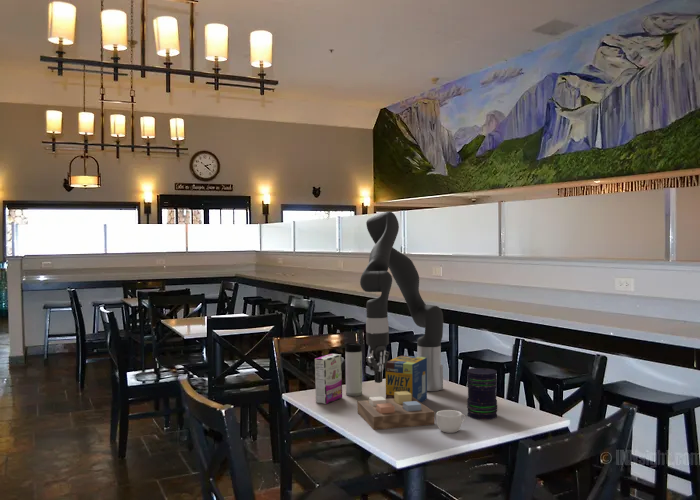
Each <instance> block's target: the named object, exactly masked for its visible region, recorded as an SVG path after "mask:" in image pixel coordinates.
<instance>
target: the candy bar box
mask: <svg viewBox="0 0 700 500" xmlns="http://www.w3.org/2000/svg"><path fill="white" fill-rule="evenodd" d="M342 373H343V372H342V354H338V353H329V354H326V355H322V356H319V357H316V358H314V378H315V379H314V382H315V385H314V386H315V403H316V404H320V405H321V404H322V405H328V404H331V403H333V402H335V401H337V400H340V399H342V398H343V378H342V377H343V376H342V375H343V374H342Z"/></svg>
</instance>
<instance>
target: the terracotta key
mask: <svg viewBox="0 0 700 500" xmlns="http://www.w3.org/2000/svg"><path fill="white" fill-rule="evenodd" d="M377 411H378V412H379V413H380V414H382V413H395V407H394V406H393V405H392V404H391V403H383V404H377Z"/></svg>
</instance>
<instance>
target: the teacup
mask: <svg viewBox="0 0 700 500" xmlns="http://www.w3.org/2000/svg"><path fill="white" fill-rule="evenodd" d="M435 416H436V424H437V425H436V426H437V427H438V428H439V430H440V431H441V432H443V433H444V434H445V433H448V434H455V433H457V432H458V431H459V430H460V429H461V427H462V424H463V423H465V421H466V415H465V414H464V413H462V412H461V411H459V410H456V409H455V410H454V409H453V410H452V409H442V410H439V411H437V412H436V414H435Z"/></svg>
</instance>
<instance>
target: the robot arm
mask: <svg viewBox="0 0 700 500" xmlns="http://www.w3.org/2000/svg"><path fill="white" fill-rule="evenodd" d="M365 223H366V229H367V232H368V234H369V236H370V237H371V239H372V241H373V243H374V246H373V247H372V249H371V251H370V253H369V259H368V264H367V265H366V267H365V269H364V270H363V272H362V274H361V276H360V279H359V280H360V281H359V283H360V284H359V285H360V288H361V289H362V290H363V292H365V293H380V295H379V297H376V298H373V299H372V298H371V299H369V300H367V301H366V306H365V307H366V308H365V309H366V322H365V332H366V333H365V337H366V339H365V340H366V341H365V342H366V345H367V346H369V356H366V358H365V361H366V362H367V365H368V367H369V369H370V371H372V372H373V373H374V376H373V377H374V383H377V384H381V383H383V371H384V369H386V364H387V361H389V356H390V351H387V348H386V347H387V346H388V345H389V344H390V337H389V336H390V335H389V334H390V333H389V328H390V327H389V319H388V317H389V316H388V304H389V303H388V302H389V298H390V297H389V295H390V293H391V292H390V291H391V287H392V284H393V279H394V281H395V283H396V285H397V287H398V288H399V291H400V292H401V294H402V297H403V298H404V301H405V302H406V305H407V308H408V310H409V313H410V316H411V318H412V321H413V322H414V324H415V325H416V326H417V327H419V328H421V329H422V328H424V334H423V335H422V336H419V337H418V338H417V341H416V343H417V345H416V346H417V349H416V350H417V352H416V353H417V356H416V357H425V358H427V392H437V391H441V390H444V366H443V364H442V352H441V350H442V349H441V348H442V344H441V343H442V339H443V334H444V313H443V311H442V309H441V308H440V306H438V305H434V304H433V305H432V304H426V302H424V299H423V297H422V296H421V294H420V275H419V273H418V272H419V271H418V270H417V268H416V266H415V264H414V263H413V260H411V258H410V257H408V256H407V255H405V254H404V253H402V252H401V251H398V250H397V249H396V248H394V245H395V241H396V239H397V236H398V233H399V229H400V223H399V220H398V218H397V216H396V215H395V213H394V212H393V211H384V212H382V213H380V214H377V215H374V216H371V217H369V218H368V219H367V220H366V222H365ZM388 270H389V271H388Z"/></svg>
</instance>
